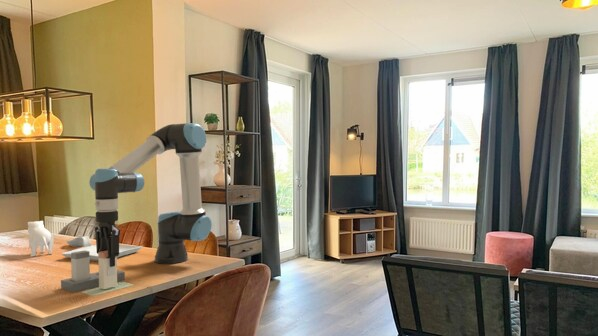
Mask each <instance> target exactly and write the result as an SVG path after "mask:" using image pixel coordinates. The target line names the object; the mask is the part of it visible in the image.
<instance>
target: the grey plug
mask: <svg viewBox="0 0 598 336" xmlns="http://www.w3.org/2000/svg"><path fill="white" fill-rule="evenodd" d="M90 261H91V260H89V251H85V250H84V251H79V252H73V253H71V258H70V262H71V263H70V266H71V267H70V268H71V270H70V272H71V276H70V278H72V281H74V282H78V281H82V280H86V279H90V274H91V273H90V270H91V269H90Z"/></svg>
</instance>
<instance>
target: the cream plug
mask: <svg viewBox="0 0 598 336" xmlns="http://www.w3.org/2000/svg"><path fill="white" fill-rule="evenodd" d="M106 257H108V250H107V251H102V252H98V258H99V261H98V272H99V286H98V288H102V289H107V288H111V287H115V286H117V283H118V282H117V270H118V268H117V267H118V262H117V260H118V258H117V256H116V257H115V275H112V276H107V258H106Z"/></svg>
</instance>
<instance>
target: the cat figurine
mask: <svg viewBox="0 0 598 336" xmlns="http://www.w3.org/2000/svg"><path fill="white" fill-rule="evenodd" d="M23 231H25V229H24V230H23ZM27 232H28V240H29V241H28V245H29V248H30V250H31V252H30V257H32V258H33V257H36V254H38V253H37V251H38V248H39V247H40V253H41V254H42V253H46V252H45V250H46V251H48V250H49V251H48V252H47V254H48V255H53V248H54V238H55V237H54V234H52V233H51V232H50V230H48V229H47V228H45V225H44V220H39V221H38V220H37V221H36V220H35V221H28V222H27ZM37 247H38V248H37Z"/></svg>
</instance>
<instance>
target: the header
mask: <svg viewBox="0 0 598 336" xmlns="http://www.w3.org/2000/svg"><path fill="white" fill-rule="evenodd" d="M125 280H126V272H125V271H122V270H118V269H117V283H118V282H123V281H125ZM60 288H61V290H65V291H67V292H70V293H73V294H74V293H77V292H83V291H87V290H91V289H95V288H99V271H96V272H92V273H90V279H86V280H82V281H78V282H74V281H72V277H70V278H64V279H61V280H60Z"/></svg>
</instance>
